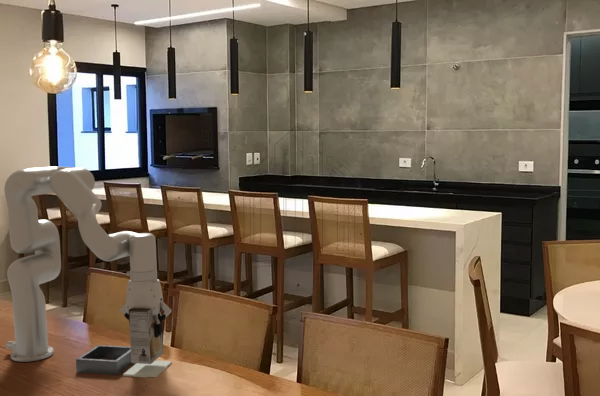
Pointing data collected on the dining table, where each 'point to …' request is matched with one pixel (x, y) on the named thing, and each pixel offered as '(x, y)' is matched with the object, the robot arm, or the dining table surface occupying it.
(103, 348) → the holder
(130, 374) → the placemat
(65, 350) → the dining table surface
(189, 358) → the dining table surface
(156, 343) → the coffee box
